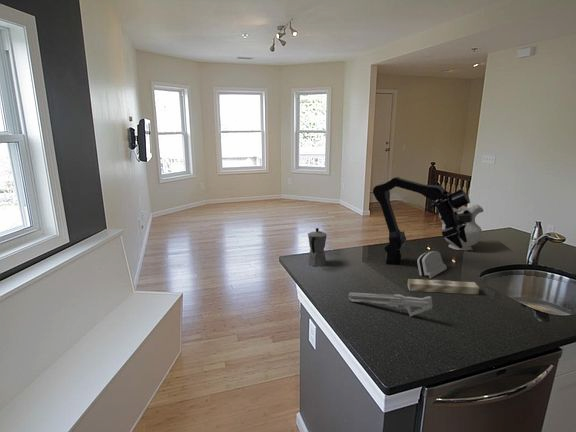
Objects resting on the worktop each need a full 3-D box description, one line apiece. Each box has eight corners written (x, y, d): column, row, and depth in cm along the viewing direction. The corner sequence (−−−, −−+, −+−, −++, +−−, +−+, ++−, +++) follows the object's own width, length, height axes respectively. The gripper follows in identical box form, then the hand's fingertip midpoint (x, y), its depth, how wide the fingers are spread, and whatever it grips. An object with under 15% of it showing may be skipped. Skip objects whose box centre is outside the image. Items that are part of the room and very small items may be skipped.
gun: (432, 319, 119) (430, 297, 118) (350, 311, 135) (347, 292, 134) (433, 316, 121) (431, 295, 120) (351, 309, 137) (349, 290, 136)
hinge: (430, 278, 154) (424, 256, 154) (420, 278, 158) (414, 257, 158) (447, 268, 165) (441, 247, 165) (437, 269, 169) (432, 248, 169)
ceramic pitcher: (439, 253, 188) (444, 208, 181) (433, 239, 206) (437, 198, 199) (483, 255, 184) (491, 210, 176) (473, 241, 202) (479, 199, 194)
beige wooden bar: (409, 290, 143) (410, 283, 142) (407, 285, 148) (408, 278, 147) (478, 294, 139) (479, 286, 138) (474, 289, 143) (474, 281, 143)
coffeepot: (311, 257, 181) (311, 224, 177) (329, 259, 178) (329, 225, 174) (302, 268, 167) (302, 232, 163) (321, 271, 164) (322, 234, 160)
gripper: (460, 209, 142) (478, 244, 140) (469, 201, 156) (486, 233, 155) (434, 219, 149) (451, 253, 147) (445, 211, 163) (461, 241, 162)
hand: (463, 244), depth 152 cm, fingers open, 9 cm apart
